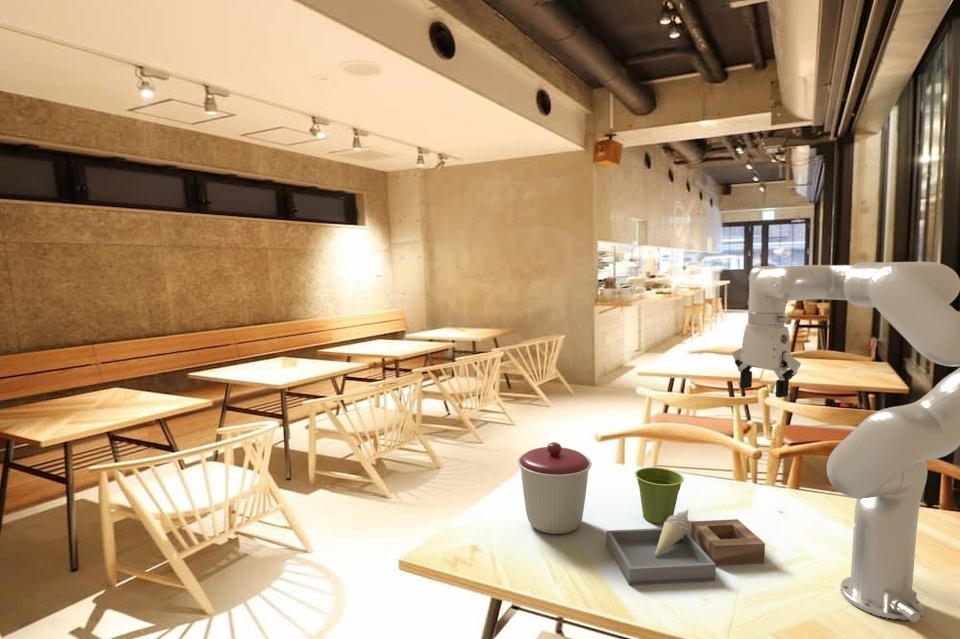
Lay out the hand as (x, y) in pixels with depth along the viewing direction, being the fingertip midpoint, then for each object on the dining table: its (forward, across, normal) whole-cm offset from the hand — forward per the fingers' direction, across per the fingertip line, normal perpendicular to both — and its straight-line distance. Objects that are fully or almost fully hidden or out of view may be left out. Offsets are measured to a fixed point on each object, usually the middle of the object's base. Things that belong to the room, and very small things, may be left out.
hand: (763, 392), depth 130 cm
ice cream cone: (+33, 0, +31) cm, 46 cm away
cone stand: (+34, -3, +14) cm, 37 cm away
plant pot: (+34, +16, +17) cm, 41 cm away
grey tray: (+34, 0, +31) cm, 46 cm away
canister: (+34, +24, +42) cm, 60 cm away
